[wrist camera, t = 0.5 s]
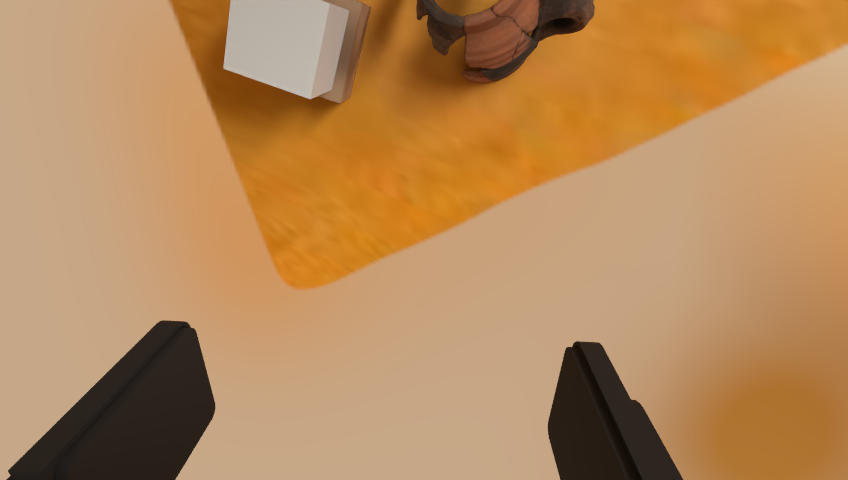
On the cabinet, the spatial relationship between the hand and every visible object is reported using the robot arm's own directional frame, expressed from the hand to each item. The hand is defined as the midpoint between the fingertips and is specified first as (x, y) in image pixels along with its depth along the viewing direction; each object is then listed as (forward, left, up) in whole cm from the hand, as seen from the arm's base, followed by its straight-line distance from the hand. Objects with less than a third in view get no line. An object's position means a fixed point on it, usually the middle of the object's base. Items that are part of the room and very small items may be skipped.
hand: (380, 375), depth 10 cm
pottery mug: (-11, +2, -28) cm, 31 cm away
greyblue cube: (-5, -11, -24) cm, 27 cm away
